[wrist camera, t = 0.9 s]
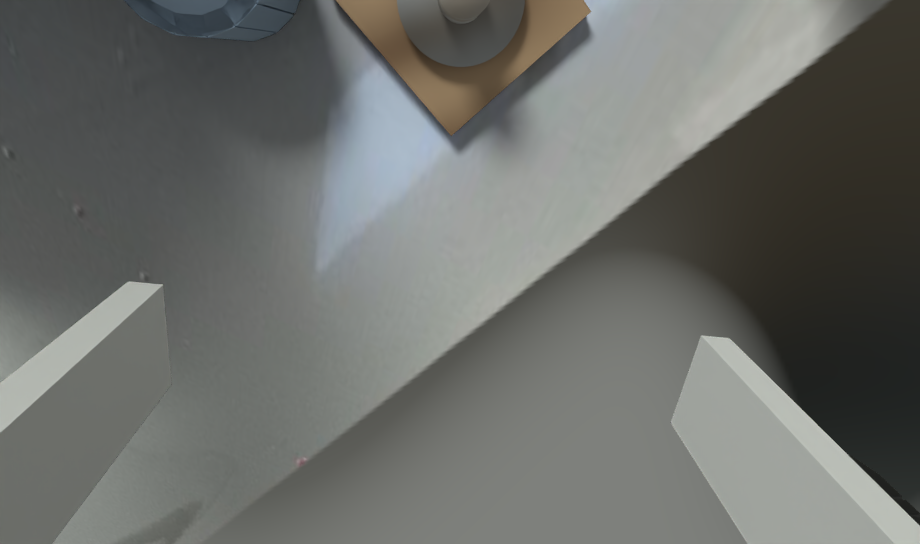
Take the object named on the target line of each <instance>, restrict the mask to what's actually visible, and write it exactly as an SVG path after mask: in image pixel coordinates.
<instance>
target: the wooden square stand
mask: <svg viewBox="0 0 920 544" xmlns="http://www.w3.org/2000/svg"><path fill="white" fill-rule="evenodd" d="M336 1H337V2H338V4H339V5H340V6H341V7H342V8H343V9H344V11H345V12H346V13H347V14H348V15H349V17H350V18H351V19H352V20H353V21H354V22H355V24H356V25H357V26H358V27H359V28H360V29H361V31H362V32H363V33H364V34H365V35H366V36H367V38H368V39H369V40H370V41H371V42H372V44H373V45H374V46H375V47H376V48H377V49H378V51H379V52H380V53H381V54H382V55H383V56H384V58H385V59H386V60H387V61H388V62H389V64H390V65H391V66H392V67H393V68H394V69H395V71H396V72H397V73H398V74H399V75H400V76H401V78H402V79H403V80H404V81H405V82H406V83H407V85H408V86H409V87H410V88H411V89H412V91H413V92H414V93H415V94H416V95H417V96H418V98H419V99H420V100H421V101H422V102H423V103H424V105H425V106H426V107H427V108H428V109H429V110H430V112H431V113H432V114H433V115H434V116H435V118H436V119H437V120H438V121H439V122H440V123H441V125H442V126H443V127H444V128H445V129H446V130H447V132H448V133H449V134H450V135H451V136H452V135H453V134H454V133H455V132H456V131H458V130H459V129H460V128H461V127H462V126H463V125H464V124H465V123H467V122H468V121H469V120H470V119H471V118H472V117H473V116H474V115H476V114H477V113H478V112H479V111H480V110H481V109H482V108H483V107H484V106H486V105H487V104H488V103H489V102H490V101H491V100H492V99H493V98H495V97H496V96H497V95H498V94H499V93H500V92H501V91H502V90H504V89H505V88H506V87H507V86H508V85H509V84H510V83H511V82H513V81H514V80H515V79H516V78H517V77H518V76H519V75H520V74H522V73H523V72H524V71H525V70H526V69H527V68H528V67H529V66H531V65H532V64H533V63H534V62H535V61H536V60H537V59H538V58H540V57H541V56H542V55H543V54H544V53H545V52H546V51H547V50H549V49H550V48H551V47H552V46H553V45H554V44H555V43H556V42H558V41H559V40H560V39H561V38H562V37H563V36H564V35H565V34H567V33H568V32H569V31H570V30H571V29H572V28H573V27H574V26H576V25H577V24H578V23H579V22H580V21H581V20H582V19H583V18H585V17H586V16H587V15H588V14H589V13H590V12H591V11H590V9H589V8H588V6H587V5H586V3H585V2H584V0H336Z"/></svg>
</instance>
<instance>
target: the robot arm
mask: <svg viewBox="0 0 920 544" xmlns="http://www.w3.org/2000/svg"><path fill="white" fill-rule="evenodd" d="M171 385H172V380H171V369H170V357H169V346H168V334H167V323H166V311H165V300H164V289H163V285H161V284H151V283H140V282H129V281H128V282H127V283H126V284H124V285H123V286H122V287H121V288H119V289H118V290H117V291H115V292H114V293H113V294H112V295H110V296H109V297H108V298H107V299H105V300H104V301H103V302H102V303H100V304H99V305H98V306H97V307H95V308H94V309H93V310H92V311H90V312H89V313H88V314H86V315H85V316H84V317H83V318H81V319H80V320H79V321H78V322H76V323H75V324H74V325H73V326H71V327H70V328H69V329H68V330H66V331H65V332H64V333H63V334H61V335H60V336H59V337H58V338H56V339H55V340H54V341H52V342H51V343H50V344H49V345H47V346H46V347H45V348H44V349H42V350H41V351H40V352H39V353H37V354H36V355H35V356H34V357H32V358H31V359H30V360H29V361H27V362H26V363H25V364H23V365H22V366H21V367H20V368H18V369H17V370H16V371H15V372H13V373H12V374H11V375H10V376H8V377H7V378H6V379H5V380H3V381H2V382H1V383H0V544H52V543H53V542H54V541H55V539H56V538H57V537H58V535H59V534H60V533H61V531H62V530H63V529H64V527H65V526H66V525H67V523H68V522H69V521H70V519H71V518H72V517H73V515H74V514H75V513H76V511H77V510H78V509H79V507H80V506H81V505H82V503H83V502H84V501H85V499H86V498H87V497H88V495H89V494H90V493H91V491H92V490H93V489H94V487H95V486H96V485H97V483H98V482H99V481H100V479H101V478H102V477H103V475H104V474H105V473H106V471H107V470H108V469H109V467H110V466H111V465H112V463H113V462H114V461H115V459H116V458H117V457H118V455H119V454H120V453H121V451H122V450H123V449H124V447H125V446H126V445H127V443H128V442H129V441H130V439H131V438H132V437H133V436H134V434H135V433H136V432H137V430H138V429H139V428H140V426H141V425H142V424H143V422H144V421H145V420H146V418H147V417H148V416H149V414H150V413H151V412H152V410H153V409H154V408H155V406H156V405H157V404H158V402H159V401H160V400H161V398H162V397H163V396H164V394H165V393H166V392H167V390H168V389H169V388H170V386H171ZM671 424H672V426H673V427H674V429H675V430H676V432H677V434H678V435H679V437H680V438H681V440H682V442H683V443H684V445H685V446H686V448H687V449H688V451H689V453H690V454H691V455H692V457H693V459H694V460H695V462H696V463H697V465H698V467H699V468H700V470H701V471H702V473H703V475H704V476H705V478H706V479H707V481H708V482H709V484H710V486H711V487H712V489H713V490H714V492H715V493H716V495H717V497H718V498H719V500H720V501H721V503H722V504H723V506H724V508H725V509H726V511H727V512H728V514H729V516H730V517H731V519H732V520H733V522H734V523H735V525H736V527H737V528H738V529H739V531H740V533H741V534H742V536H743V537H744V539H745V541H746V542H747V544H920V513H919V512H918V511H917V510H916V509H915V508H914V507H913V506H912V505H911V504H910V503H909V502H907V501H906V500H902V496H901V495H900V494H899V493H898V492H897V491H896V490H895V489H894V488H893V487H892V486H891V485H890V484H889V483H888V482H887V481H886V480H885V479H884V478H883V477H881V476H880V475H879V474H878V473H876V472H875V471H873V470H872V469H870V468H869V467H867V466H866V465H864V464H863V463H862V462H860V461H859V460H857V459H855V458H854V457H853V456H851V455H847V454H846V453H845V452H844V451H843V450H842V449H841V448H840V447H839V446H838V445H837V444H836V443H835V442H834V441H833V440H832V439H831V438H830V437H829V436H828V435H827V434H826V433H825V432H824V431H823V430H822V429H821V428H820V427H819V426H818V425H817V424H816V423H815V422H814V421H813V420H812V419H811V418H810V417H809V416H808V415H807V414H806V413H805V412H804V411H803V410H802V409H801V408H800V407H799V406H797V404H796V403H795V402H794V401H793V400H792V399H791V398H789V397H788V396H787V395H786V394H785V393H784V392H783V391H782V390H781V389H780V388H779V387H778V386H777V385H776V384H775V383H774V382H773V381H772V380H771V379H770V378H769V377H768V376H767V375H766V374H765V373H764V372H763V371H762V370H761V369H760V368H759V367H758V366H757V365H756V364H755V363H754V362H753V361H752V360H751V359H750V358H749V357H748V356H747V355H746V354H745V353H744V352H743V351H742V350H741V349H740V348H738V346H737V345H736V344H734V342H733V341H731V339H729V338H721V337H710V336H701V338H700V340H699V343H698V347H697V349H696V352H695V355H694V358H693V360H692V363H691V366H690V369H689V372H688V375H687V378H686V380H685V383H684V386H683V389H682V392H681V395H680V398H679V401H678V404H677V406H676V409H675V412H674V415H673V418H672V420H671Z"/></svg>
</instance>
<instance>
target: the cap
mask: <svg viewBox="0 0 920 544" xmlns="http://www.w3.org/2000/svg"><path fill="white" fill-rule="evenodd" d="M124 1H125V2H126V3H127V4H128V5H129V6H130V7H131V8H132V9H133V10H134V11H135V12H136V13H137V14H138V15H139V16H140V17H141V18H143V19H144V20H145V21H147V22H149V23H151V24H153V25H155V26H157V27H159V28H161V29H163V30H165V31H167V32H169V33H171V34H173V35H180V36H192V37H204V38H217V39H230V40H243V41H256V40H259V39H262V38H264V37H267V36H270V35H272V34H275V33H276V32H278V31H279V30H280V29H281V28H282V27H283V26H284V25H285V24H286V23H287V22H288V21H289V20H290V19H291V18H292V17H293V16H294V14H295V12H296V9H297V6H298V4H299V1H300V0H124ZM293 13H294V14H293Z"/></svg>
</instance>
